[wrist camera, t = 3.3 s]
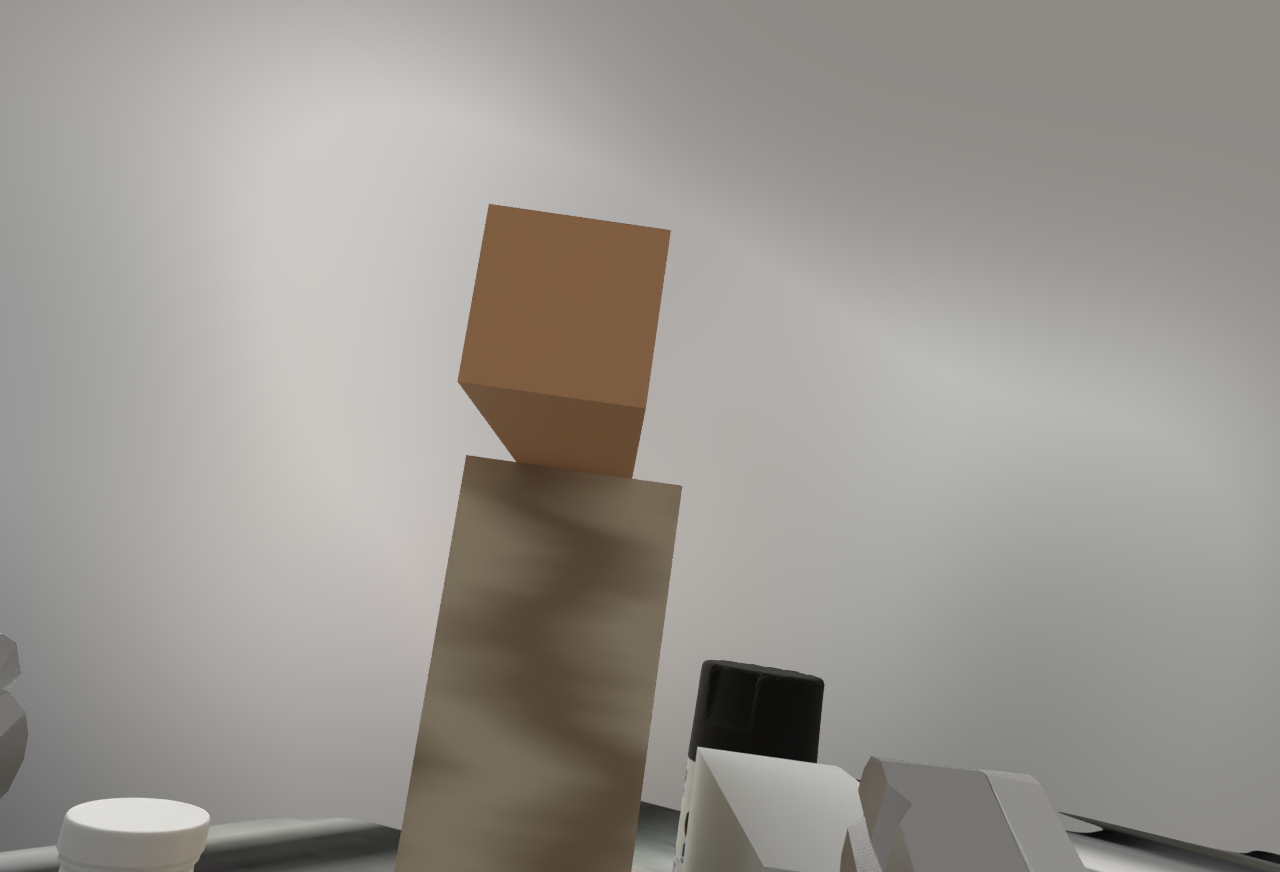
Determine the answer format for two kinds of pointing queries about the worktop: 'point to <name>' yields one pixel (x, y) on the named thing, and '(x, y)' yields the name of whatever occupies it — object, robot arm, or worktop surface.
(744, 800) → the base
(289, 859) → the worktop surface
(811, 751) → the spray can
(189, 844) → the supplement bottle
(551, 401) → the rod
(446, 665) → the beige rectangular block
